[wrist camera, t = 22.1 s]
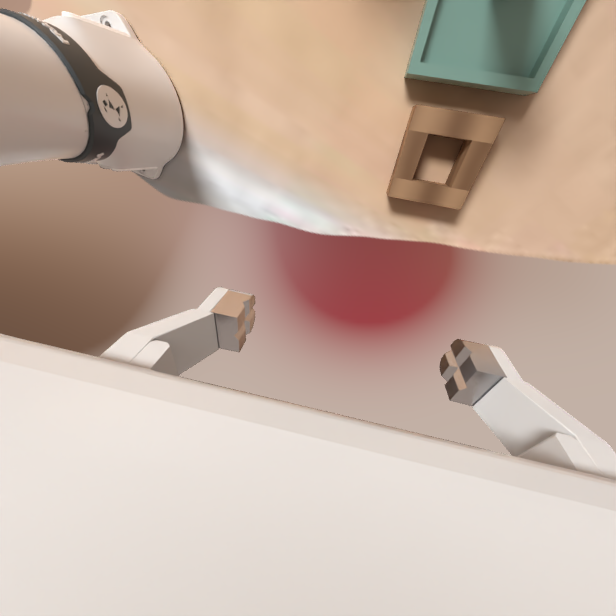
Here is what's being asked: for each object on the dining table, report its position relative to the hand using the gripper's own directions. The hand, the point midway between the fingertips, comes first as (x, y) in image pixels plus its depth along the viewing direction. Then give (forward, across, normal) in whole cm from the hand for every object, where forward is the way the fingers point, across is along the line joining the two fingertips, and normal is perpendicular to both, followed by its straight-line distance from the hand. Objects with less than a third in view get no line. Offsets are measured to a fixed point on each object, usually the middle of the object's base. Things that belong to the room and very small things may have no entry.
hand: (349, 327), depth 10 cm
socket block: (+33, -10, -4) cm, 35 cm away
